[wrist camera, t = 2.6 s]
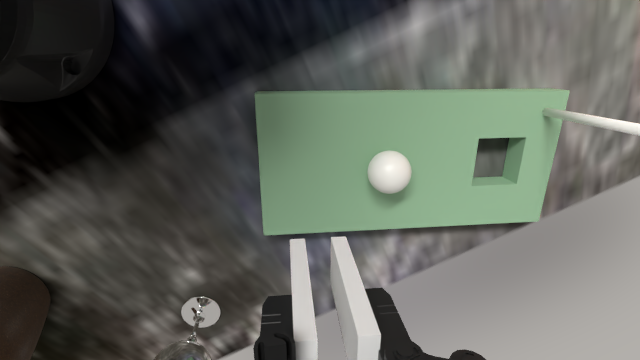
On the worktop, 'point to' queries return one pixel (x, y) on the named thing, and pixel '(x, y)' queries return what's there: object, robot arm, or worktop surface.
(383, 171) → the ball
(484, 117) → the putting deck
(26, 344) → the plant pot
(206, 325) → the wineglass
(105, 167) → the worktop surface
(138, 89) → the worktop surface
